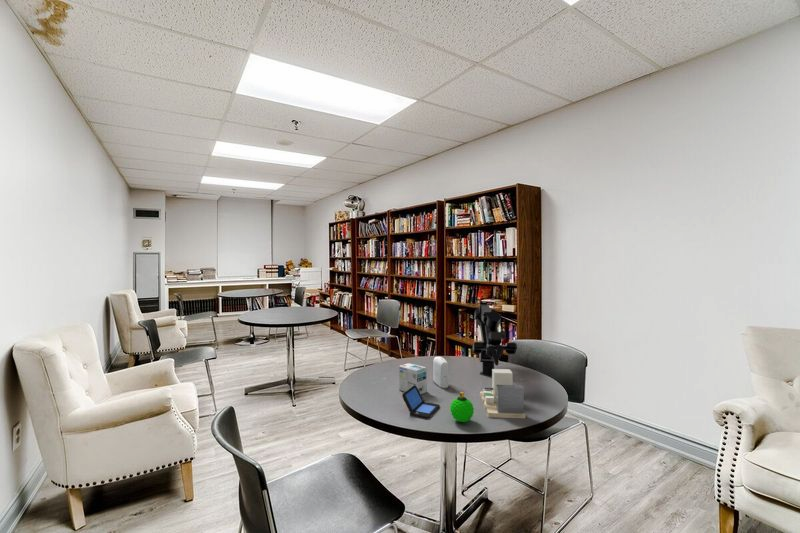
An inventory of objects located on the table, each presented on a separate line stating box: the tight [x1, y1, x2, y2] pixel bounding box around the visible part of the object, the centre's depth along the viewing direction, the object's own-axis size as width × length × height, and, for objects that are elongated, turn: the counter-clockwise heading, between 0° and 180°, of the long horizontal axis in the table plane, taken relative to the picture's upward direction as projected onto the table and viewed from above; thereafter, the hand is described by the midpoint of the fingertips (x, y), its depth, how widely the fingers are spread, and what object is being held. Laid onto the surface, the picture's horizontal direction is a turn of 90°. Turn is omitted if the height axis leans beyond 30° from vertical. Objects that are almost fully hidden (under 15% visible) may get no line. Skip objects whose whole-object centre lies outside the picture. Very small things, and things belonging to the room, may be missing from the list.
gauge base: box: [479, 388, 527, 419], centre depth 138 cm, size 22×13×4 cm, turn 175°
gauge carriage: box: [484, 368, 514, 398], centre depth 142 cm, size 8×10×10 cm
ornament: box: [449, 391, 475, 423], centre depth 124 cm, size 8×8×10 cm
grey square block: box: [496, 384, 525, 413], centre depth 129 cm, size 3×9×9 cm, turn 85°
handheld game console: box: [401, 385, 441, 420], centre depth 134 cm, size 12×11×7 cm
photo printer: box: [432, 356, 450, 389], centre depth 162 cm, size 10×4×12 cm, turn 17°
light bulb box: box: [398, 362, 428, 396], centre depth 154 cm, size 11×7×11 cm, turn 47°
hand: (496, 364), depth 154 cm, fingers closed
